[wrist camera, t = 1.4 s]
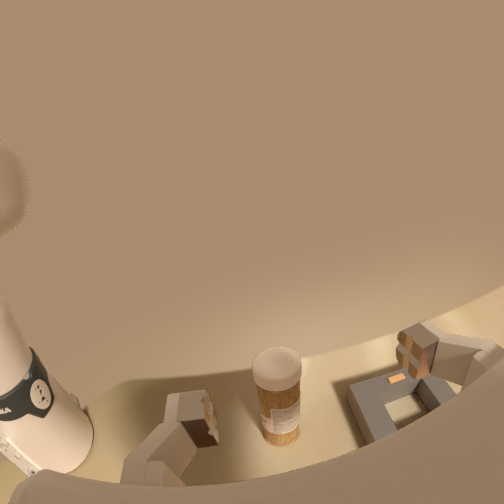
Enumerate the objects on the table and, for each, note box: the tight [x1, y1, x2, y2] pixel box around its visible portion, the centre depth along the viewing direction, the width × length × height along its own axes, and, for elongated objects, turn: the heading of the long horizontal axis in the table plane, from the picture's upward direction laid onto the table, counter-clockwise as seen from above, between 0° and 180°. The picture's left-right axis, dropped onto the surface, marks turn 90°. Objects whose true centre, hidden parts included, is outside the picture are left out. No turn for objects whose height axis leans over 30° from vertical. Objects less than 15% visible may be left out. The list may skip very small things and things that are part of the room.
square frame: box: [347, 367, 456, 445], centre depth 25 cm, size 13×13×3 cm
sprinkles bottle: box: [252, 347, 302, 446], centre depth 25 cm, size 5×5×14 cm
